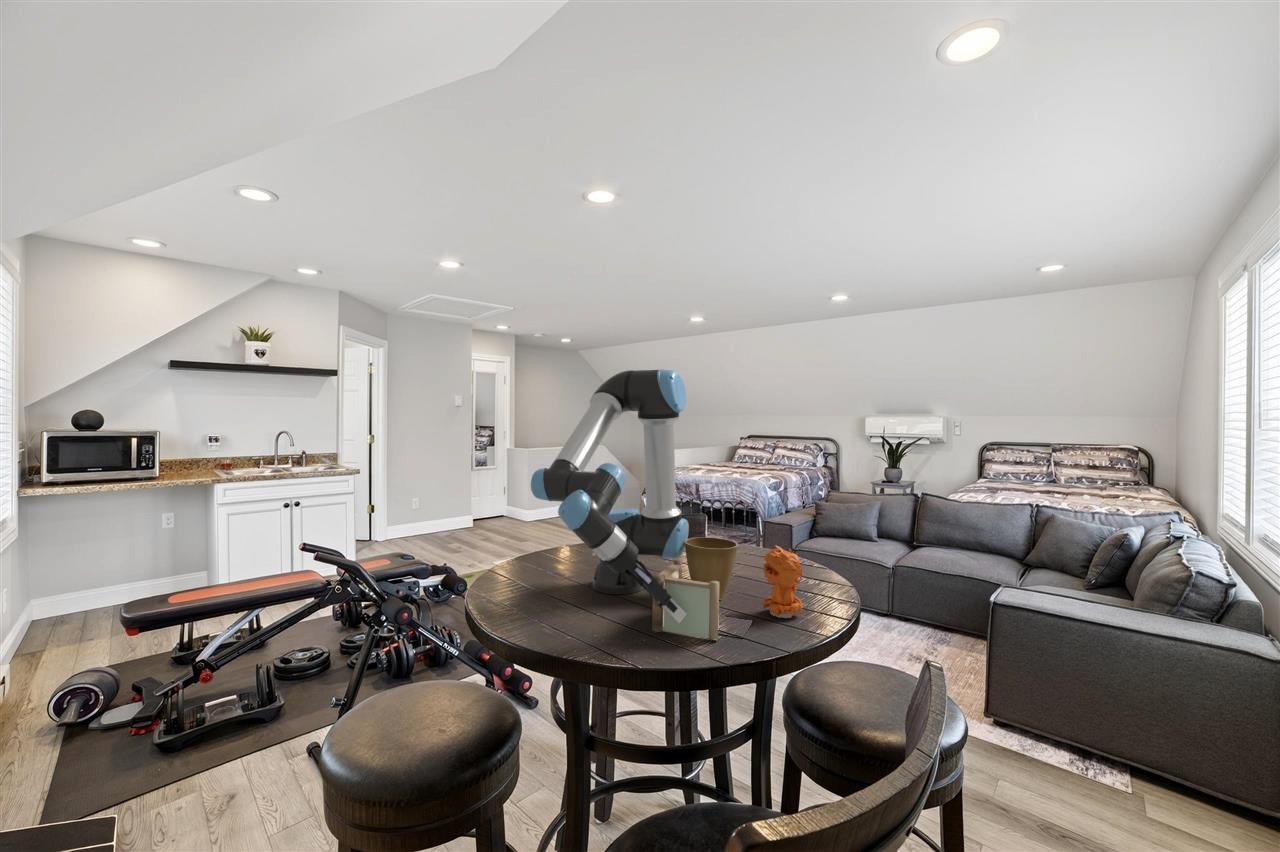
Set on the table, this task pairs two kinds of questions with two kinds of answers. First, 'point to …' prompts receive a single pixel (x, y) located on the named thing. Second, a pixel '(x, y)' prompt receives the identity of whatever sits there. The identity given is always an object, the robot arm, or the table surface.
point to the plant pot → (711, 560)
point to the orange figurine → (782, 581)
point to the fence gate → (694, 607)
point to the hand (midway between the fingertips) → (681, 617)
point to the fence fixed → (672, 572)
